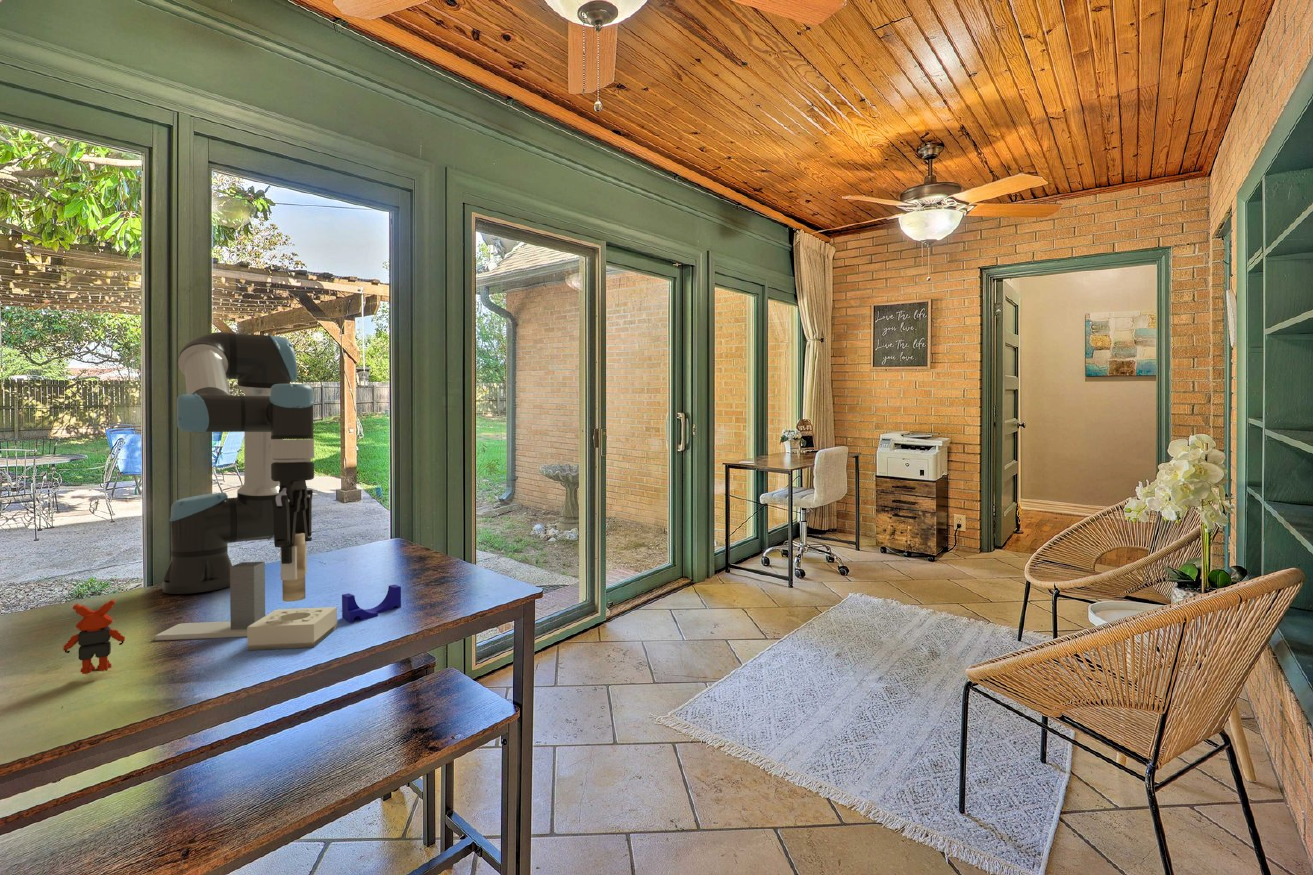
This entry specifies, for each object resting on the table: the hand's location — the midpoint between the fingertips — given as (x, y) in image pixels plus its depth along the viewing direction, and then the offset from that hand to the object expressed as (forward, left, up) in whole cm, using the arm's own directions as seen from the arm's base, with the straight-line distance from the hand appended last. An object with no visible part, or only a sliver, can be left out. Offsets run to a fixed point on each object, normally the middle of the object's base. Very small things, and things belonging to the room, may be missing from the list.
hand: (294, 576), depth 127 cm
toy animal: (+12, -28, -13) cm, 33 cm away
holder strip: (-7, -18, -13) cm, 23 cm away
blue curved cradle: (-14, +11, -13) cm, 22 cm away
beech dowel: (0, 0, -5) cm, 5 cm away
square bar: (-7, -12, -12) cm, 18 cm away
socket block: (0, 0, -13) cm, 13 cm away
